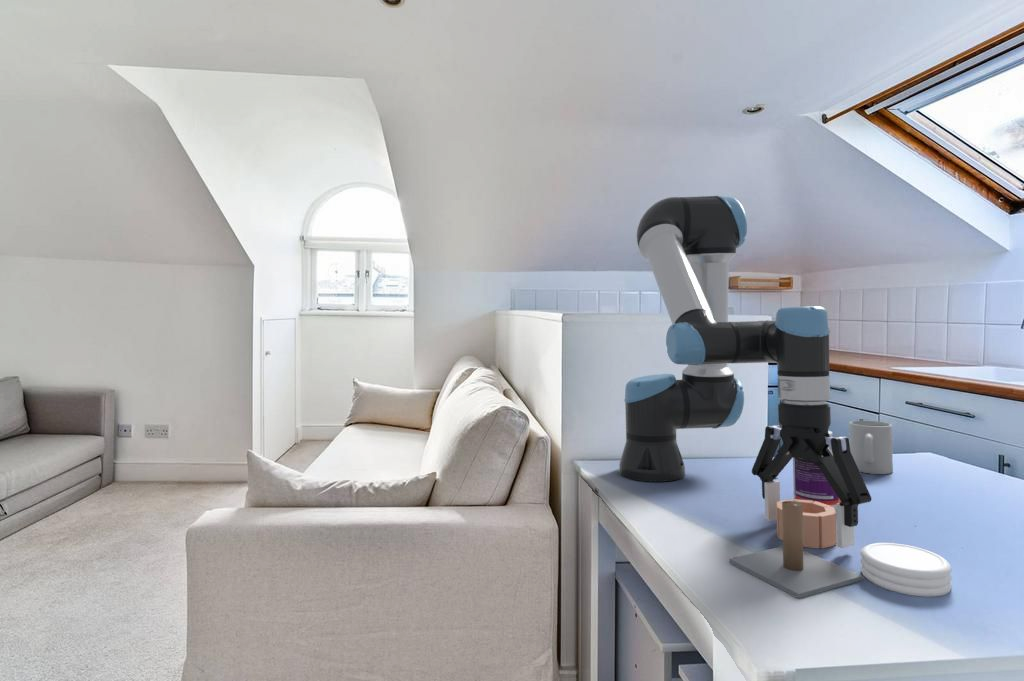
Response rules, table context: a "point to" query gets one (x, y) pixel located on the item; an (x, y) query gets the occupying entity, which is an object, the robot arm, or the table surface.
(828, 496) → the pill bottle
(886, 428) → the mug
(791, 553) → the post block
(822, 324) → the robot arm
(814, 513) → the ring
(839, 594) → the table surface
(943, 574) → the coaster
